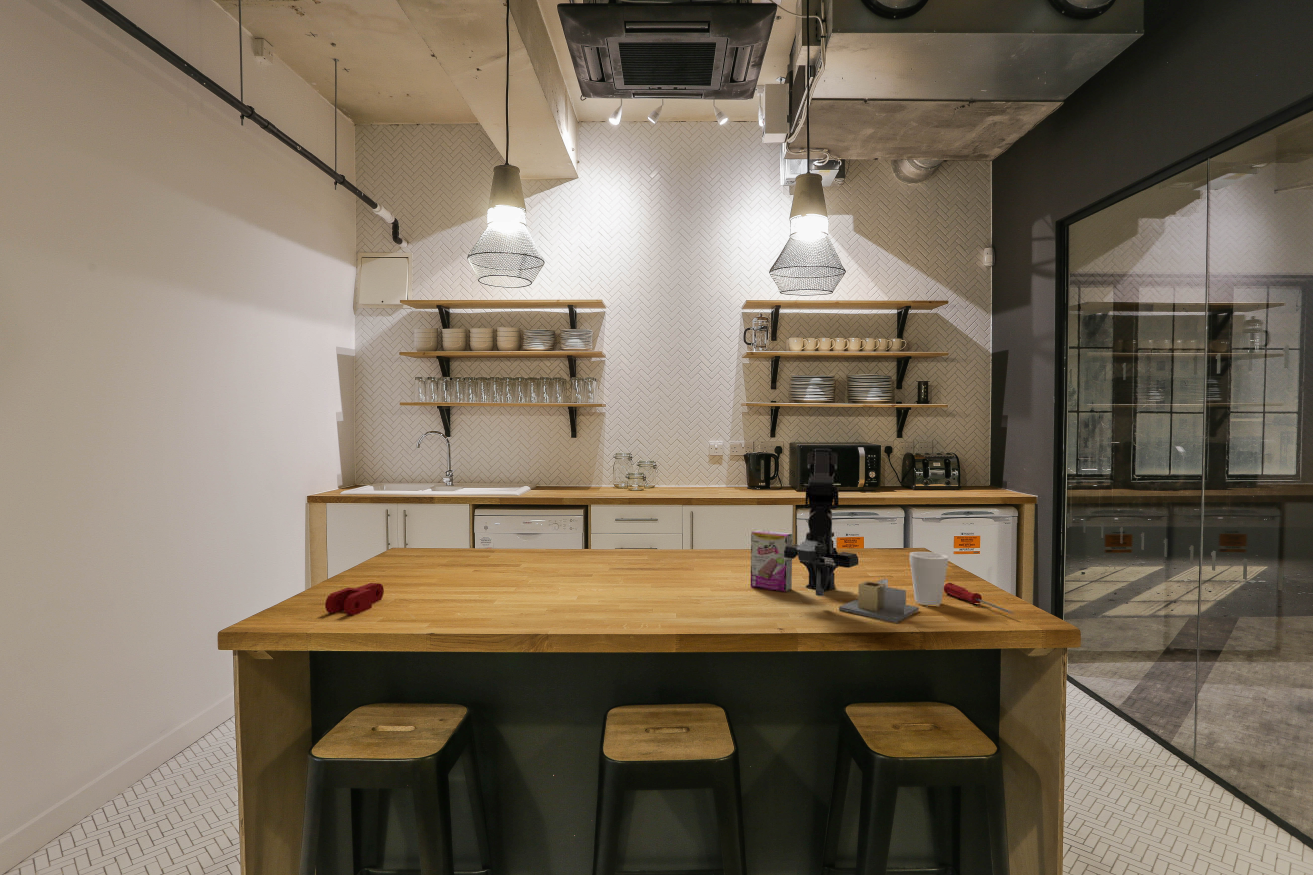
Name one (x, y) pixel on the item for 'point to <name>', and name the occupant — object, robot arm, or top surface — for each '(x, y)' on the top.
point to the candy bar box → (770, 560)
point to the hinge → (881, 597)
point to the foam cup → (928, 576)
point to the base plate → (880, 614)
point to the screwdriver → (967, 595)
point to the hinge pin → (819, 580)
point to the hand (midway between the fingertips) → (819, 588)
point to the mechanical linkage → (354, 599)
